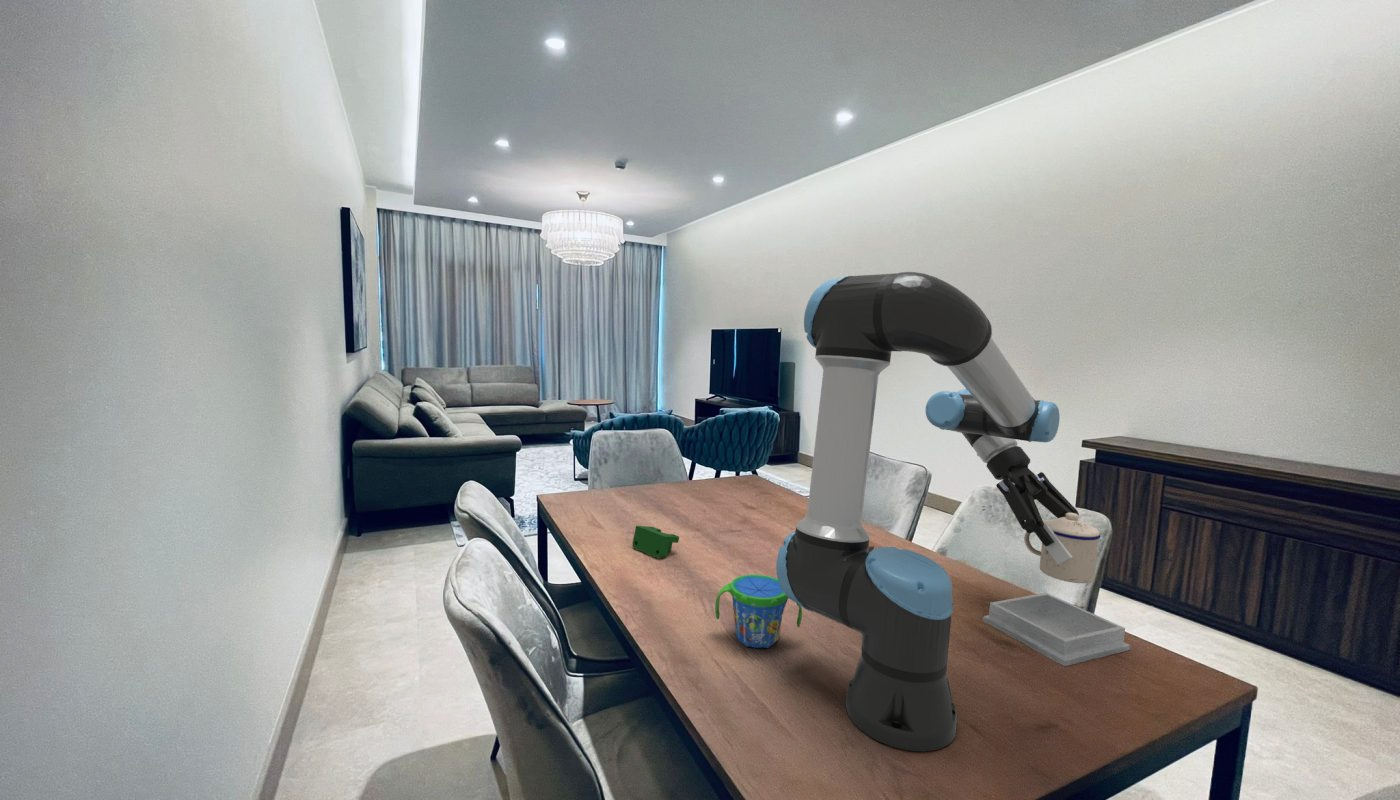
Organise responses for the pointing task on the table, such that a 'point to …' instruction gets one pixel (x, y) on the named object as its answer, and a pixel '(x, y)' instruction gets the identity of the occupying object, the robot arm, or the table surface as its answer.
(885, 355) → the robot arm
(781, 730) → the table surface
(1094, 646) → the rectangular tray
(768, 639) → the snack cup
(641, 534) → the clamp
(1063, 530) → the teacup with lid
